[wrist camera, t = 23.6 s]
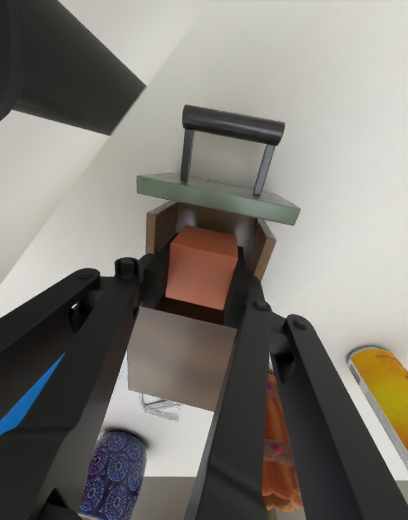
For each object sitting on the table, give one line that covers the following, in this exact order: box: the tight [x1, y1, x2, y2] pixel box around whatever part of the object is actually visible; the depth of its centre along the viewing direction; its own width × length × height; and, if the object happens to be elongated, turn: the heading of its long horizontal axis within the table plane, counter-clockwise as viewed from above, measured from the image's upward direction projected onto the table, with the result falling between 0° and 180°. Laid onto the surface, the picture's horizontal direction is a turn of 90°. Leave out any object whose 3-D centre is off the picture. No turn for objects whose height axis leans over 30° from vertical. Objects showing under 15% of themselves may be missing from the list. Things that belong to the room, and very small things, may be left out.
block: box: [166, 225, 238, 310], centre depth 15 cm, size 4×4×4 cm
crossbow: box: [139, 393, 184, 422], centre depth 41 cm, size 16×13×2 cm
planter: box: [77, 431, 147, 520], centre depth 48 cm, size 17×17×15 cm
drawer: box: [137, 105, 301, 320], centre depth 18 cm, size 18×11×8 cm, turn 170°
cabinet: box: [127, 300, 238, 412], centre depth 24 cm, size 15×13×10 cm
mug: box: [262, 373, 303, 512], centre depth 27 cm, size 15×8×15 cm, turn 117°
